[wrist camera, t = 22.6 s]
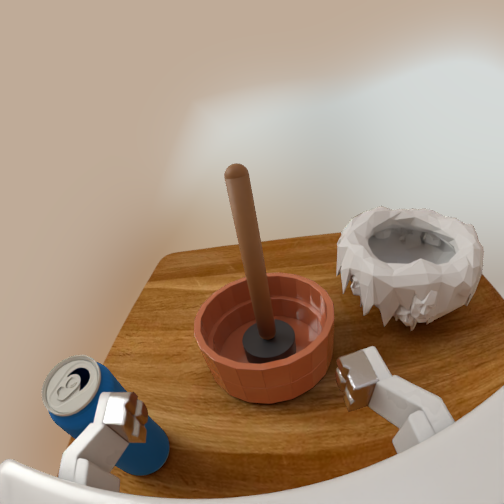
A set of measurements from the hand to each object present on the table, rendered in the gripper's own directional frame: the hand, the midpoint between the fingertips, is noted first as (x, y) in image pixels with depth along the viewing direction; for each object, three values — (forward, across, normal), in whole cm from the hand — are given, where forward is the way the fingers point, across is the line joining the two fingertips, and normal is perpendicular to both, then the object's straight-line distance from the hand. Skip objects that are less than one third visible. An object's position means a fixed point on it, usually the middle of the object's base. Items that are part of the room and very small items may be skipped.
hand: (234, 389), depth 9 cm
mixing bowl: (+14, -2, +15) cm, 21 cm away
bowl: (+18, -22, +16) cm, 32 cm away
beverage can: (+4, +12, +16) cm, 20 cm away
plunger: (+14, -2, +15) cm, 21 cm away
